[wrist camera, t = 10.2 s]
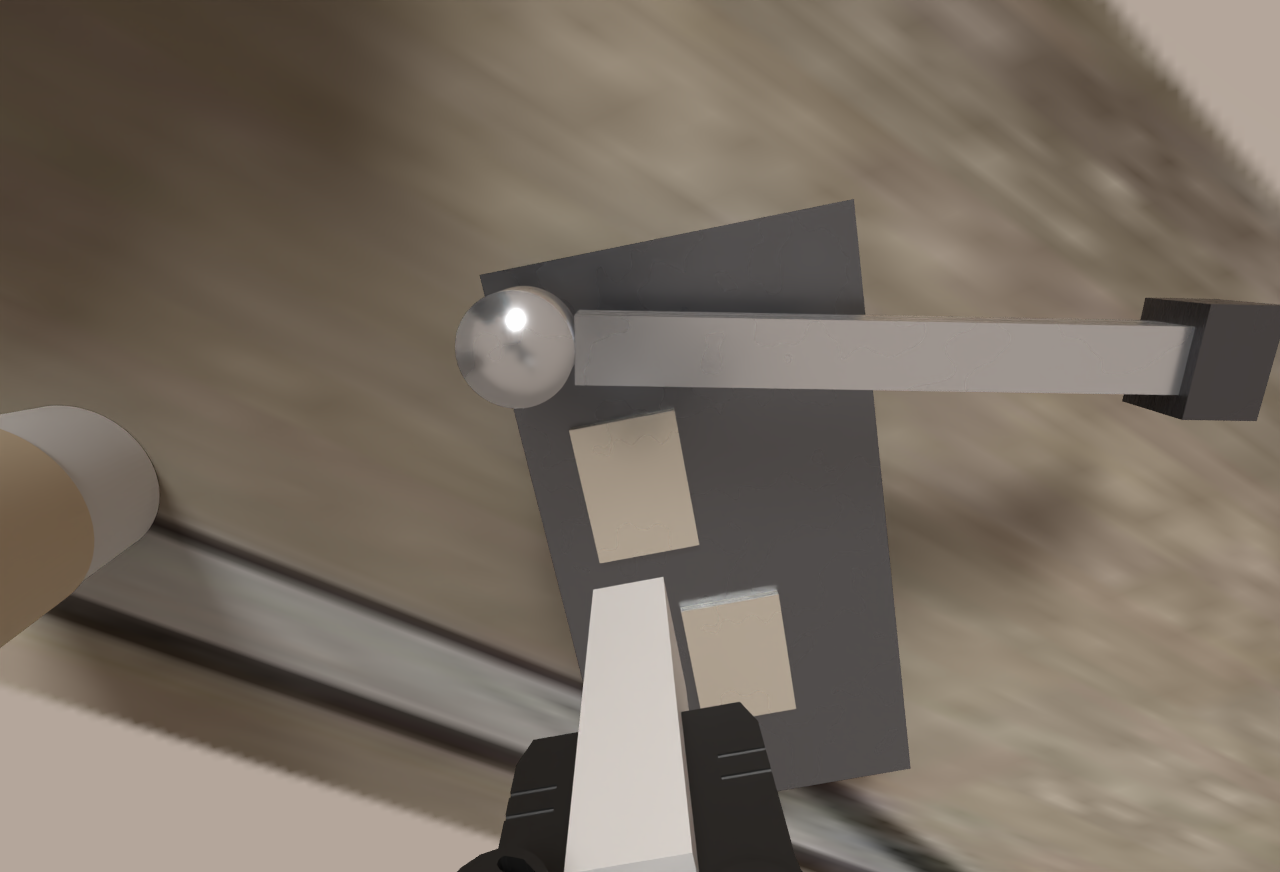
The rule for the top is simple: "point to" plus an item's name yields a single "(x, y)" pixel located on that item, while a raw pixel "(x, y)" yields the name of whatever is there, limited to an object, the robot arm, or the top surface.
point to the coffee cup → (65, 505)
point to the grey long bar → (877, 352)
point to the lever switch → (734, 496)
